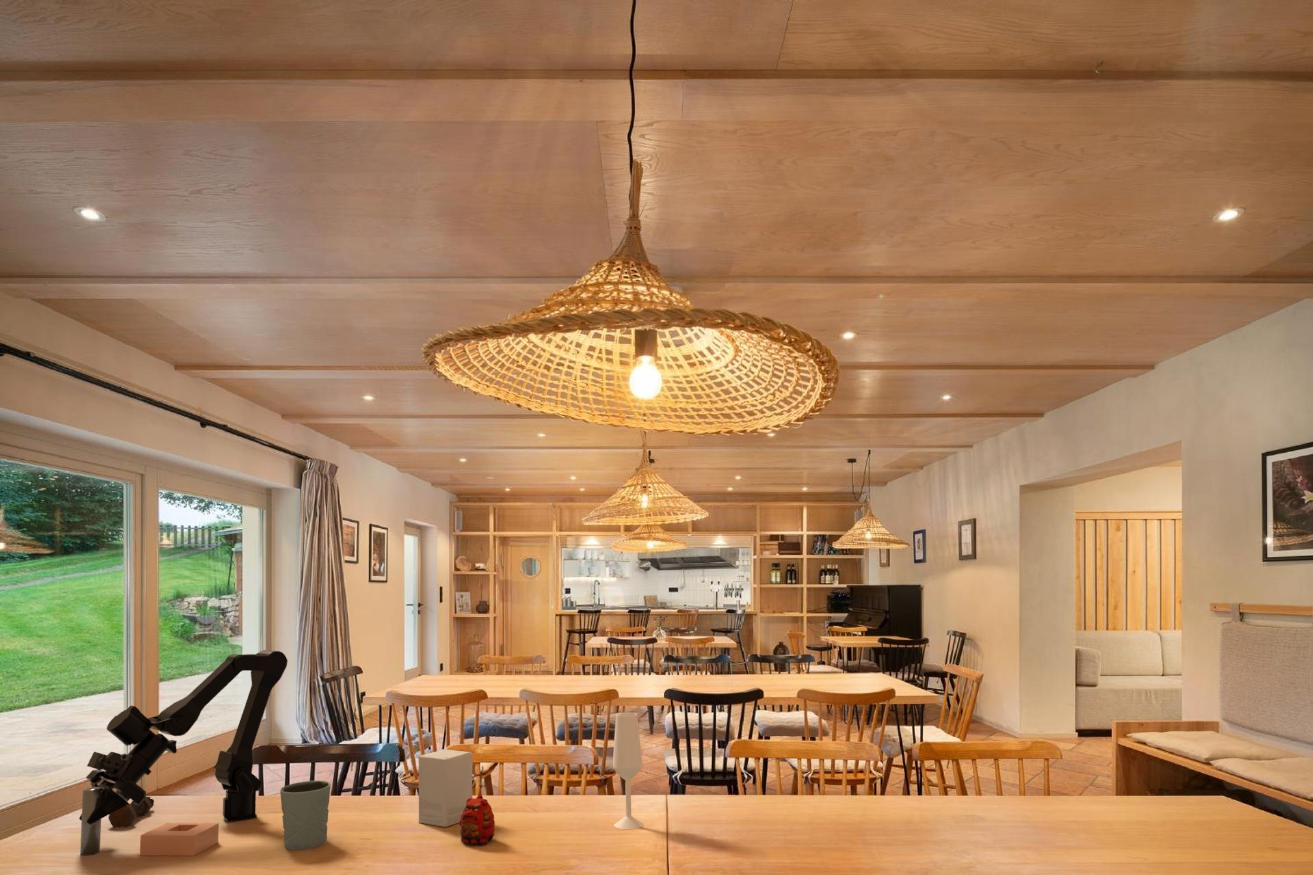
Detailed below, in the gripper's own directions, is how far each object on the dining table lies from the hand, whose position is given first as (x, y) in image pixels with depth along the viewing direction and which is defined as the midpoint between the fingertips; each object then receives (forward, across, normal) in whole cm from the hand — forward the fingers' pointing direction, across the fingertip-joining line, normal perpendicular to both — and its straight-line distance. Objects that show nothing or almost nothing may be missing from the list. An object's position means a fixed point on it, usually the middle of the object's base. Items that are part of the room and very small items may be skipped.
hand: (84, 821), depth 201 cm
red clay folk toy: (-34, +63, +44) cm, 83 cm away
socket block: (-5, +14, +15) cm, 21 cm away
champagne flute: (-53, +81, +63) cm, 116 cm away
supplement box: (-38, +44, +48) cm, 75 cm away
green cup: (-18, +33, +27) cm, 46 cm away
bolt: (-8, -21, +18) cm, 29 cm away
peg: (+4, 0, +6) cm, 7 cm away
